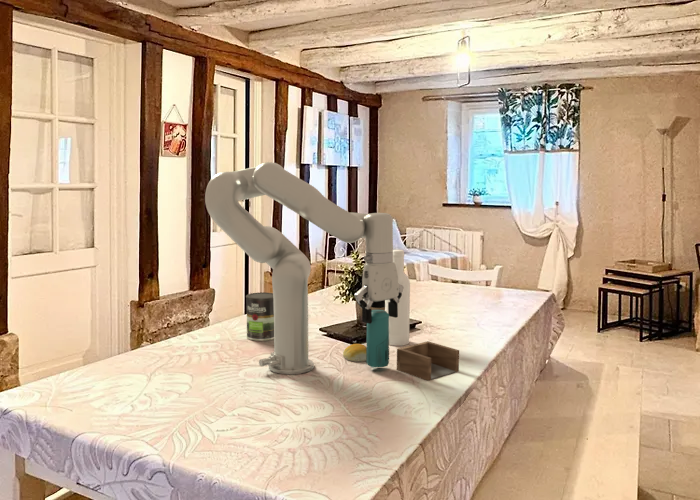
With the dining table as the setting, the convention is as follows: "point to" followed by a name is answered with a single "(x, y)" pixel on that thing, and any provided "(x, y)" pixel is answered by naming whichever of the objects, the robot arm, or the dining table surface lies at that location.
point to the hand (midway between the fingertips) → (380, 319)
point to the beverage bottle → (378, 337)
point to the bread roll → (355, 353)
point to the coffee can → (260, 316)
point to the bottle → (400, 306)
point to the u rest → (427, 360)
